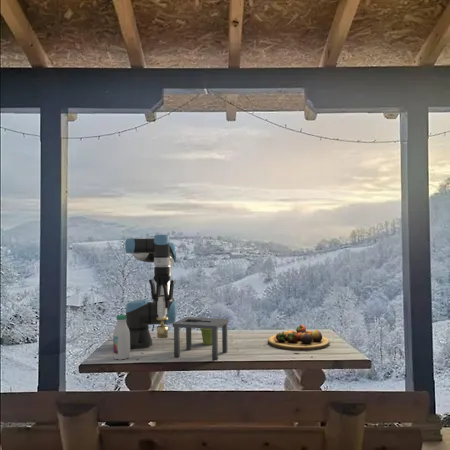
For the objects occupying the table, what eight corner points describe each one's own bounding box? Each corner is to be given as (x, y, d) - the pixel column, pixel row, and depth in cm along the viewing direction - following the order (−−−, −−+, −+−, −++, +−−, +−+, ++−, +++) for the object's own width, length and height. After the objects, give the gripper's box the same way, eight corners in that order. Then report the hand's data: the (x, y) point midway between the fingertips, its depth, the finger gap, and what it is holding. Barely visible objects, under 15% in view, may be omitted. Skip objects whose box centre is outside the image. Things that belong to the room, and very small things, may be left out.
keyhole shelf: (172, 357, 231) (172, 323, 231) (187, 348, 248) (186, 316, 249) (217, 361, 225) (216, 326, 225) (228, 351, 242) (228, 319, 242)
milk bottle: (131, 355, 236) (131, 313, 236) (128, 360, 228) (128, 316, 228) (115, 356, 235) (114, 314, 235) (112, 360, 228) (111, 317, 228)
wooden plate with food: (283, 334, 280) (283, 320, 280) (337, 341, 264) (337, 325, 264) (257, 346, 253) (257, 330, 253) (316, 354, 236) (316, 337, 236)
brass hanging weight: (154, 337, 238) (154, 297, 238) (159, 335, 243) (159, 296, 243) (165, 338, 236) (165, 298, 236) (170, 336, 242) (169, 296, 242)
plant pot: (215, 346, 253) (215, 329, 253) (198, 345, 255) (197, 328, 255) (219, 342, 262) (219, 325, 262) (202, 341, 264) (202, 325, 264)
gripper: (144, 266, 239) (144, 315, 239) (173, 267, 234) (173, 316, 234) (150, 265, 246) (151, 312, 246) (179, 265, 241) (180, 313, 241)
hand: (162, 314), depth 240 cm, fingers closed on brass hanging weight, 2 cm apart
